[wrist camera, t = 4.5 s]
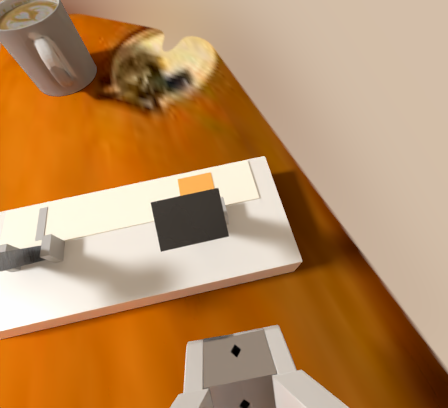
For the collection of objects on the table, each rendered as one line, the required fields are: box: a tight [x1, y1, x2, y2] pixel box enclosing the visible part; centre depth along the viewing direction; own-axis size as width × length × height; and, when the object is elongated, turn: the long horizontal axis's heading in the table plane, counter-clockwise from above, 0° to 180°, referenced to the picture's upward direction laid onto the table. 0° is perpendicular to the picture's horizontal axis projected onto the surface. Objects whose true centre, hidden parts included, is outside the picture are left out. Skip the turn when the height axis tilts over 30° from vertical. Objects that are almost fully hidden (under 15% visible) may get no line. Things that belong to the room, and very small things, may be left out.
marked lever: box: [151, 188, 229, 252], centre depth 19 cm, size 3×4×11 cm
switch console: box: [0, 156, 303, 339], centre depth 25 cm, size 12×30×6 cm, turn 102°
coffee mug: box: [0, 0, 97, 96], centre depth 38 cm, size 13×10×10 cm
